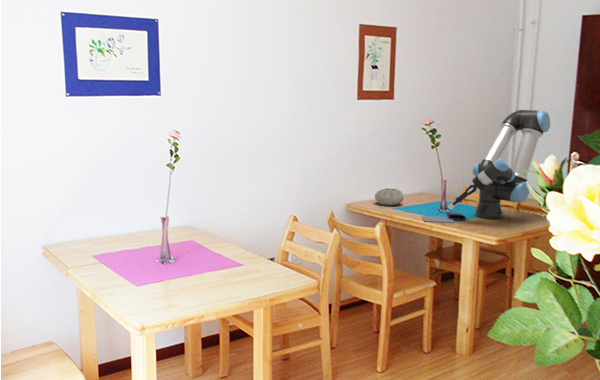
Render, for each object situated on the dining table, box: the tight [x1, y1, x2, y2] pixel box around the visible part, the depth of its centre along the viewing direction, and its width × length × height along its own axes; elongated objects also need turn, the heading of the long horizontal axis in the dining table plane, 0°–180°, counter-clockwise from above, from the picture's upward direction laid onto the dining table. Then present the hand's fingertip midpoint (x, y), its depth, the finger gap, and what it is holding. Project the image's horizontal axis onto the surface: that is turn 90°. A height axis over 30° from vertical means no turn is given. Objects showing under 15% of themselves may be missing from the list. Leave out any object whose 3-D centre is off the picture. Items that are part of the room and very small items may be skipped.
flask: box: [446, 211, 467, 221], centre depth 326 cm, size 9×3×11 cm
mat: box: [422, 215, 455, 224], centre depth 320 cm, size 16×13×1 cm
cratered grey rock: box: [374, 188, 405, 206], centre depth 362 cm, size 18×18×10 cm
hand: (449, 207), depth 321 cm, fingers closed
